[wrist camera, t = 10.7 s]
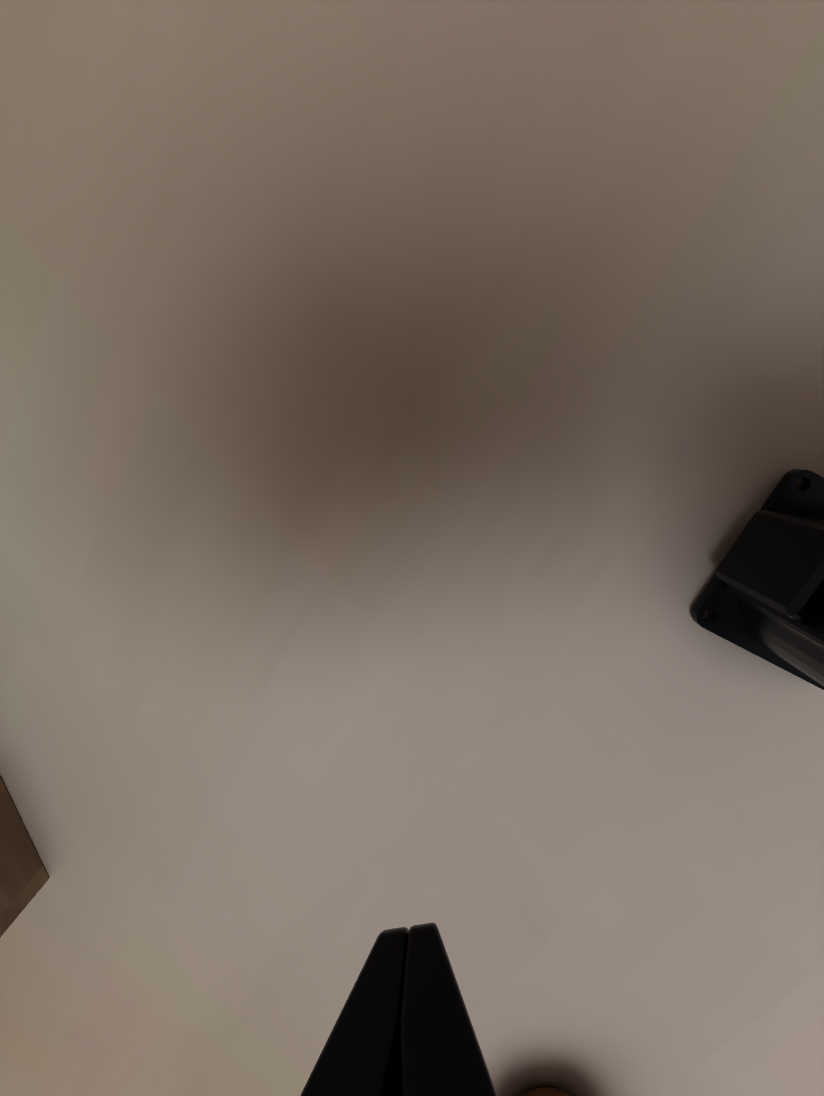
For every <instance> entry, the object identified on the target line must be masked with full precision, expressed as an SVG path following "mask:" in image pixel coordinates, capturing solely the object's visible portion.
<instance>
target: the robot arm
mask: <svg viewBox="0 0 824 1096" xmlns="http://www.w3.org/2000/svg"><path fill="white" fill-rule="evenodd" d="M800 478H802V482H803V483H802V486H801V487H800V488H799V489H796V486H795V484H796V482H797V480H799V479H800ZM707 610H711V611H712V613H711V615H710V616H709V617H708V618H705V619H704V618H703V615H704V613H705V612H706V611H707ZM691 616H692V618H693V620H694V621H695V622H696V623H697V624H699V625H700V626H701V627H703V628H705V629H707V630H709V631H711V632H713V633H714V634H716V635H718V636H720V637H722V638H724V639H726V640H728V641H730V642H732V643H734V644H736V645H738V646H740V647H742V648H744V649H745V650H747V651H749V652H751V653H753V654H755V655H757V656H759V657H761V658H763V659H765V660H767V661H769V662H771V663H773V664H774V665H776V666H778V667H780V668H782V669H784V670H786V671H788V672H790V673H792V674H794V675H796V676H798V677H800V678H802V679H804V680H805V681H807V682H809V683H811V684H813V685H815V686H817V687H819V688H821V689H823V690H824V478H823V477H821V476H819V475H817V474H816V473H814V472H812V471H809V470H803V469H794V470H791V471H789V472H787V473H786V474H785V476H784V477H783V478H782V479H781V481H780V482H779V484H778V485H777V487H776V488H775V490H774V491H773V492H772V494H771V495H770V497H769V498H768V500H767V501H766V503H765V504H764V505H763V507H762V508H761V510H760V511H759V512H757V513H755V514H754V516H753V517H752V519H751V520H750V522H749V523H748V524H747V526H746V527H745V529H744V530H743V532H742V533H741V535H740V536H739V538H738V539H737V540H736V542H735V543H734V545H733V546H732V548H731V549H730V551H729V552H728V553H727V555H726V556H725V558H724V559H723V561H722V562H721V564H720V565H719V566H718V568H717V573H716V575H715V576H714V578H713V579H712V581H711V582H710V583H709V585H708V586H707V588H706V589H705V591H704V592H703V594H702V595H701V596H700V598H699V599H698V601H697V602H696V604H695V605H694V607H693V609H692V611H691ZM301 1096H497V1094H496V1092H495V1089H494V1086H493V1083H492V1080H491V1077H490V1075H489V1072H488V1069H487V1066H486V1063H485V1060H484V1058H483V1055H482V1052H481V1049H480V1046H479V1043H478V1041H477V1038H476V1035H475V1032H474V1029H473V1026H472V1024H471V1021H470V1018H469V1015H468V1012H467V1009H466V1007H465V1004H464V1001H463V998H462V995H461V992H460V990H459V987H458V984H457V981H456V978H455V975H454V973H453V970H452V967H451V964H450V961H449V958H448V956H447V953H446V950H445V947H444V944H443V941H442V938H441V936H440V933H439V930H438V927H437V925H436V924H435V923H427V924H421V925H414V926H412V927H411V928H410V929H409V930H408V929H407V928H405V927H401V928H395V929H389V930H384V931H382V932H381V933H380V934H379V936H378V938H377V940H376V942H375V944H374V946H373V948H372V950H371V952H370V954H369V956H368V958H367V960H366V962H365V964H364V966H363V968H362V970H361V972H360V974H359V977H358V979H357V981H356V983H355V985H354V987H353V989H352V991H351V993H350V995H349V997H348V999H347V1001H346V1003H345V1005H344V1007H343V1009H342V1011H341V1013H340V1016H339V1018H338V1020H337V1022H336V1024H335V1026H334V1028H333V1030H332V1032H331V1034H330V1036H329V1038H328V1040H327V1042H326V1044H325V1046H324V1048H323V1050H322V1052H321V1054H320V1057H319V1059H318V1061H317V1063H316V1065H315V1067H314V1069H313V1071H312V1073H311V1075H310V1077H309V1079H308V1081H307V1083H306V1085H305V1087H304V1089H303V1091H302V1093H301Z"/></svg>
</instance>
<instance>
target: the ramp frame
mask: <svg viewBox="0 0 824 1096" xmlns="http://www.w3.org/2000/svg"><path fill="white" fill-rule="evenodd" d="M48 879H49V877H48V875H47V873H46V871H45V869H44V867H43V865H42V863H41V860H40V858H39V856H38V854H37V852H36V850H35V848H34V846H33V844H32V842H31V839H30V837H29V835H28V833H27V831H26V829H25V827H24V825H23V823H22V821H21V819H20V816H19V814H18V812H17V810H16V808H15V806H14V804H13V802H12V800H11V798H10V795H9V793H8V791H7V789H6V787H5V785H4V783H3V781H2V779H1V777H0V937H1V936H2V935H3V933H4V932H5V931H6V930H7V929H8V927H9V926H10V925H11V924H12V923H13V921H14V920H15V919H16V918H17V917H18V915H19V914H20V913H21V912H22V910H23V909H24V908H25V907H26V906H27V904H28V903H29V902H30V901H31V900H32V898H33V897H34V896H35V895H36V894H37V892H38V891H39V890H40V889H41V888H42V886H43V885H44V884H45V883H46V881H47V880H48Z"/></svg>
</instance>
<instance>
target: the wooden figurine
mask: <svg viewBox="0 0 824 1096" xmlns="http://www.w3.org/2000/svg"><path fill="white" fill-rule="evenodd" d="M521 1096H572V1095H570V1094H569V1093H567V1092H565V1091H562V1090H558V1089H555V1088H535V1089H533V1090H530V1091H528V1092H525V1093H524V1094H522V1095H521Z"/></svg>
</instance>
